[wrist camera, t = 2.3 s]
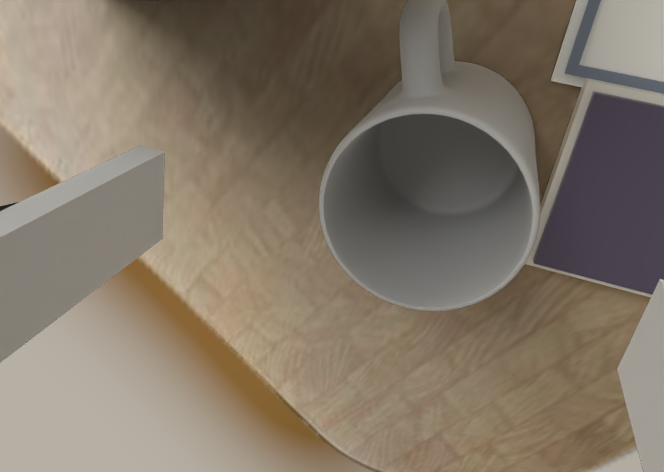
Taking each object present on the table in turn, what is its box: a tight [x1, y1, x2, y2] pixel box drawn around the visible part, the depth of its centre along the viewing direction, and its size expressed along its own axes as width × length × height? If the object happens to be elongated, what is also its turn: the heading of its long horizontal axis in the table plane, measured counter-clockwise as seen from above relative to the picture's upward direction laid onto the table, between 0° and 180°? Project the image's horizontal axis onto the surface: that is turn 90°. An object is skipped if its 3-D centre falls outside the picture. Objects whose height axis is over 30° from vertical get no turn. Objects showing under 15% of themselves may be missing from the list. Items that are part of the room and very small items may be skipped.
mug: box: [319, 0, 541, 311], centre depth 26 cm, size 12×8×11 cm
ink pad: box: [525, 78, 664, 297], centre depth 29 cm, size 10×10×2 cm
